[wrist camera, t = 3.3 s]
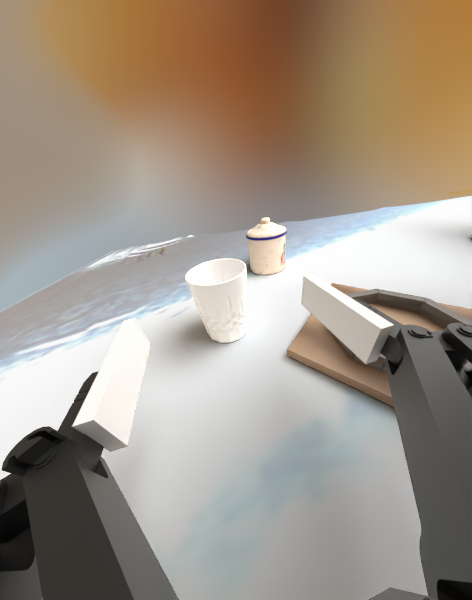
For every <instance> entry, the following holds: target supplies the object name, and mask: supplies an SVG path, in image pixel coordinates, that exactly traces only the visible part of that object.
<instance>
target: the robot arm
mask: <svg viewBox="0 0 472 600" xmlns="http://www.w3.org/2000/svg"><path fill="white" fill-rule="evenodd" d="M471 239H472V236H471ZM301 304H302V305H303V306H304V307H305V308H306V309H307V310H308V311H309V312H311V313H312V314H313V315H314V316H315V317H316V318H317V319H318V320H319V321H320V322H321V323H322V324H323V325H324V326H325V327H326V328H328V329H329V330H330V331H331V332H332V333H333V334H334V335H335V336H336V337H337V338H338V339H339V340H340V341H341V342H342V343H344V344H345V345H346V346H347V347H348V348H349V349H350V350H351V351H352V352H353V353H354V354H355V355H356V356H357V357H358V358H360V359H361V360H362V361H363V362H364V363H365V364H368V363H371V362H374V361H377V359H378V357H379V355H380V353H381V354H382V355H383V356H385V359H384V361H383V363H382V365H381V367H380V371H382V370H383V369H384V367H385V368H386V373H387V377H388V381H389V386H390V390H391V395H392V399H393V403H394V408H395V412H396V416H397V421H398V425H399V430H400V434H401V438H402V443H403V447H404V451H405V456H406V460H407V465H408V469H409V473H410V478H411V482H412V486H413V491H414V495H415V500H416V504H417V508H418V513H419V517H420V522H421V537H420V556H421V562H422V567H423V572H424V577H425V582H426V587H427V591H428V596H429V597H428V596H424V595H420V594H415V593H411V592H407V591H403V590H399V589H394V588H389V589H387V590H385V591H383V592H381V593H380V594H378V595H376V596H374V597H373V598H371V599H369V600H472V370H471V371H470V370H468V369H467V368H466V367H465V365H466V364H467V363H468V362H470V363H471V364H472V326H471V325H468V324H463V323H451V324H449V325H448V326H447V327H446V328H445V330H444V331H430V330H428V329H426V328H423V327H421V326H417V325H409V324H408V325H403V324H401V323H399V322H398V321H396V320H394V319H393V318H391V317H389V316H387V315H386V314H384V313H382V312H381V311H378V310H377V309H376V308H374V307H372V306H371V305H369V304H367V303H366V302H364V301H361V300H358V299H352V298H350V297H349V296H347V295H345V294H344V293H342V292H341V291H339V290H337V289H336V288H334V287H333V286H331V285H329V284H328V283H326V282H325V281H323V280H321V279H320V278H318V277H317V276H315V275H313V274H310V275H306V276H304V279H303V290H302V302H301ZM150 346H151V344H150V343H149V341H148V339H147V338H146V336H145V334H144V333H143V331H142V329H141V328H140V326H139V324H138V322H137V321H136V319H135V318H133V319H129V320H125V321H123V323H122V325H121V327H120V329H119V331H118V333H117V335H116V337H115V339H114V341H113V344H112V346H111V348H110V350H109V352H108V354H107V356H106V358H105V360H104V362H103V364H102V366H101V368H100V370H99V371H98V372H95V373H92V374H91V375H90V376H89V378H88V379H87V380H86V381H85V382H84V383H83V385H82V387H81V389H80V391H79V394H78V395H77V396H76V398H75V400H74V403H73V404H72V406H71V407H70V409H69V411H68V413H67V415H66V417H65V419H64V420H63V422H62V424H61V426H60V428H59V430H58V431H56V430H54V429H53V428H51V427H42V428H39V429H37V430H35V431H33V432H32V433H30V434H28V435H27V436H26V437H24V438H23V439H22V440H21V441H20V442H19V443H18V444H16V446H15V447H14V448H13V449H12V450H11V451H10V453H9V454H8V456H7V457H6V459H5V461H4V462H3V466H2V470H3V471H6V472H9V473H11V474H10V475H8V476H7V477H5V478H3V479H2V480H0V600H42V598H43V600H178V598H177V596H176V594H175V592H174V590H173V588H172V586H171V585H170V583H169V581H168V579H167V577H166V575H165V573H164V571H163V569H162V568H161V566H160V564H159V562H158V560H157V558H156V556H155V554H154V553H153V551H152V549H151V547H150V545H149V543H148V541H147V539H146V538H145V536H144V534H143V532H142V530H141V528H140V526H139V524H138V523H137V521H136V519H135V517H134V515H133V513H132V511H131V509H130V507H129V506H128V504H127V502H126V500H125V498H124V496H123V494H122V492H121V491H120V489H119V487H118V485H117V483H116V481H115V479H114V477H113V476H112V474H111V472H110V470H109V468H108V466H107V464H106V462H105V461H104V459H103V458H102V457H101V454H102V451H103V448H105V449H107V450H108V451H110V452H111V451H114V450H117V449H120V448H123V447H126V446H128V442H129V437H130V433H131V429H132V424H133V420H134V416H135V411H136V407H137V403H138V398H139V394H140V389H141V385H142V381H143V376H144V372H145V368H146V363H147V359H148V355H149V350H150Z"/></svg>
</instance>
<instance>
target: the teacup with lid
mask: <svg viewBox="0 0 472 600" xmlns="http://www.w3.org/2000/svg"><path fill="white" fill-rule="evenodd" d="M286 233H287V231H286V228H285V227H283V226H279V225H277V224H275V223H273V222H270V218H262V219H261V223H260V224H258V225H257V226H256V227H255V228H253V229H251V230H249V231H248V232H247V235H246V237H247V239H248V248H249V258H250V267H251V270H252V271H253V272H254V273H257V274H262V275H268V274H274V273H278V272H280V271H282V270H283V269H284V267H285V238H286Z"/></svg>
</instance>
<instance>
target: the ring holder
mask: <svg viewBox="0 0 472 600" xmlns="http://www.w3.org/2000/svg"><path fill="white" fill-rule="evenodd" d="M331 286H333V287H334V288H336V289H337V290H339V291H341V292H342V293H344V294H345V295H347V296H349V297H350V298H352V299H358V300H361V301H364V302H366V303H367V304H369V305H371V306H372V307H374V308H376V309H377V310H378V311H381V312H382V313H384V314H386V315H387V316H389V317H391V318H393V319H394V320H396V321H398V322H399V323H401V324H403V325H408V324H409V325H417V326H421V327H423V328H426V329H428V330H430V331H444V330H445V328H446V327H447V326H448V325H449V324H451V323H463V324H468V325H471V326H472V309H467V308H462V307H456V306H451V305H446V304H440V303H436V302H434V301H432V300H431V299H427V298H424V297H418V296H413V295H407V294H402V293H396V292H391V291H385V290H380V289H377V290H376V289H373V290H366V289H361V288H355V287H350V286H345V285H339V284H334V283H332V285H331ZM287 356H289V357H291V358H293V359H295V360H297V361H299V362H301V363H303V364H306V365H308V366H310V367H312V368H314V369H316V370H318V371H320V372H322V373H324V374H326V375H328V376H330V377H332V378H334V379H337V380H339V381H341V382H343V383H345V384H347V385H349V386H351V387H353V388H355V389H357V390H359V391H361V392H363V393H365V394H367V395H370V396H372V397H374V398H376V399H378V400H380V401H382V402H384V403H386V404H388V405H390V406H392V407H394V403H393V399H392V395H391V390H390V386H389V381H388V377H387V373H386V368H385V367H384V369H383V370H382V371H380V367H381V365H382V363H383V361H384V359H385V356H383V355H382V354H381V353H380V355H379V357H378V359H377V361H374V362H371V363H368V364H365V363H364V362H363V361H362V360H361V359H360V358H358V357H357V356H356V355H355V354H354V353H353V352H352V351H351V350H350V349H349V348H348V347H347V346H346V345H345V344H344V343H342V342H341V341H340V340H339V339H338V338H337V337H336V336H335V335H334V334H333V333H332V332H331V331H330V330H329V329H328V328H326V327H325V326H324V325H323V324H322V323H321V322H320V321H319V320H318V319H317V318H316V317H315V316H314V315H313V314H311V316H310V317H309V319H308V320H307V321H306V323H305V324H304V326H303V327H302V329H301V330H300V332H299V333H298V335H297V336H296V338H295V339H294V341H293V342H292V344H291V345H290V347H289V348H288V354H287ZM465 367H466V368H467V369H468V370H470V371H471V370H472V364H471V363H470V362H468V363H467V364H466V365H465Z"/></svg>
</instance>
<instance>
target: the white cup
mask: <svg viewBox="0 0 472 600" xmlns="http://www.w3.org/2000/svg"><path fill="white" fill-rule="evenodd" d="M185 280H186V282H187V285H188V287H189V290H190V292H191V295H192V297H193V300H194V302H195V305H196V307H197V310H198V312H199V314H200V317H201V319H202V321H203V323H204V325H205V328H206V330H207V333H208V335H209V336H210V337H211V338H212V340H215V341H217V342H220V343H230V342H233V341H236V340H239V339H241V338H242V337H243V336H244V335H245V334H246V333H247V332H248V329H249V326H250V322H249V296H248V283H247V269H246V264H245V263H244V262H243V261H240V260H237V259H216V260H211V261H208V262H204V263H202V264H199V265H197V266H195V267H193V268H192V269H191V270H189V271H188V272H187V274H186V276H185Z"/></svg>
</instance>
